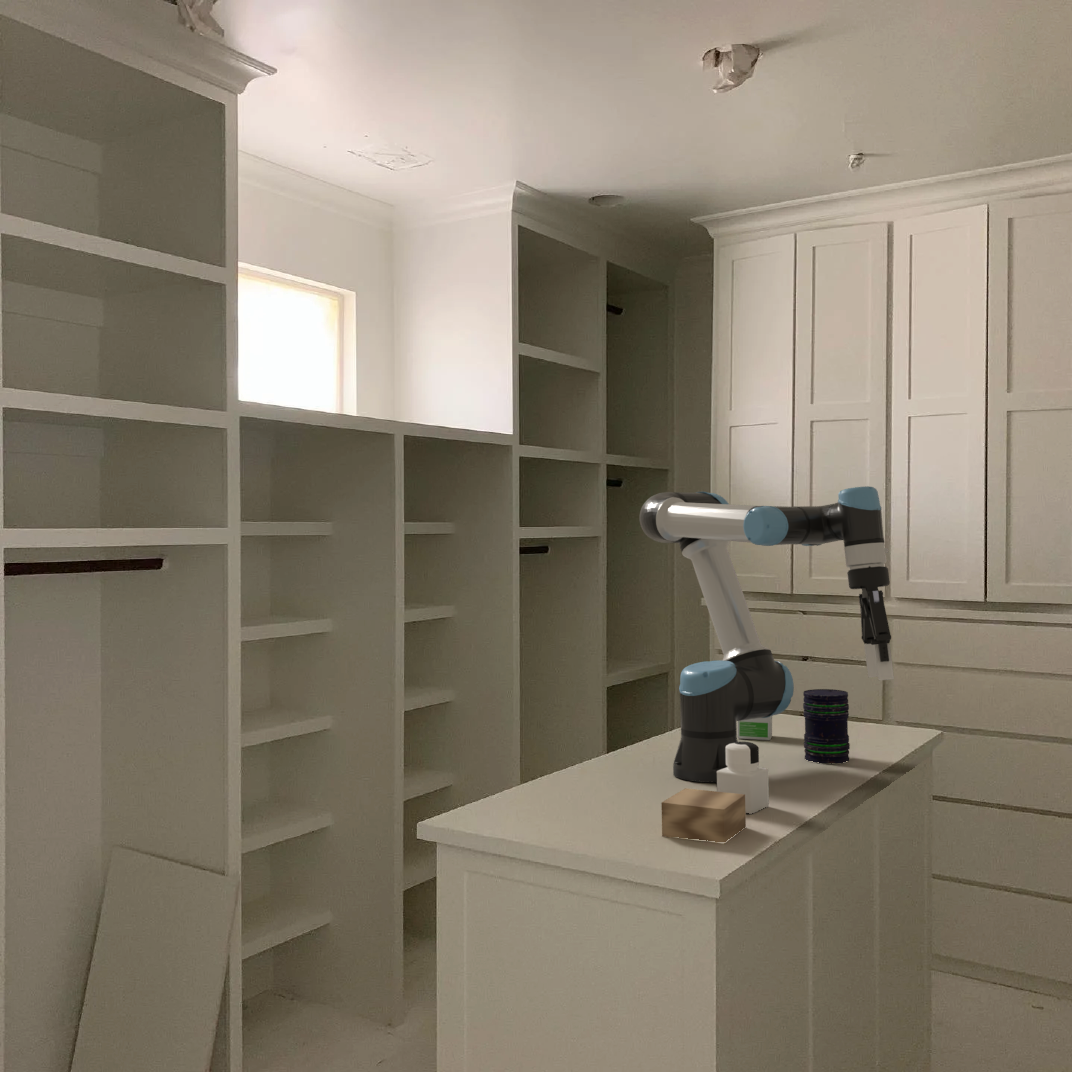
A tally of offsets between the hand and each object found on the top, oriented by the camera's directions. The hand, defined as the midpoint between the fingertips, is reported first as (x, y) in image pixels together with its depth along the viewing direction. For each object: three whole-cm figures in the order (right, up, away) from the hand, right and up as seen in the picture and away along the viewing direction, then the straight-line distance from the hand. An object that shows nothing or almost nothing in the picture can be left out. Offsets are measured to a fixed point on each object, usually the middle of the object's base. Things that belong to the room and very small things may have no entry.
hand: (880, 678), depth 204 cm
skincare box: (-11, -23, +62) cm, 67 cm away
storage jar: (-1, -23, +35) cm, 42 cm away
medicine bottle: (-27, -24, -5) cm, 36 cm away
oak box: (-37, -24, -20) cm, 48 cm away
